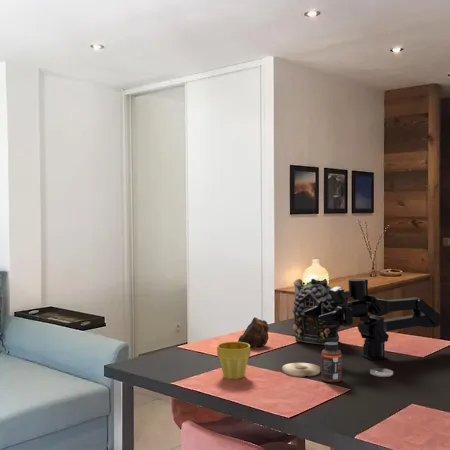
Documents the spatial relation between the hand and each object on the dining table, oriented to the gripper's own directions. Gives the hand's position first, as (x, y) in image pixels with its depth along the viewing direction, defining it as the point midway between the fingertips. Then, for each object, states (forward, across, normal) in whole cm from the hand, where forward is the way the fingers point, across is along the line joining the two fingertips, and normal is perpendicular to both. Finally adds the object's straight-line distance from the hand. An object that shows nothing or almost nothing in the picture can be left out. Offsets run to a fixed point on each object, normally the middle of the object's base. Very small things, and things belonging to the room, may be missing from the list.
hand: (311, 315), depth 192 cm
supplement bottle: (+4, +17, +17) cm, 24 cm away
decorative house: (-20, -30, +18) cm, 40 cm away
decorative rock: (+6, -33, +17) cm, 38 cm away
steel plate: (-14, +18, +17) cm, 28 cm away
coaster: (+8, +5, +16) cm, 19 cm away
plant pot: (+30, +1, +16) cm, 33 cm away
